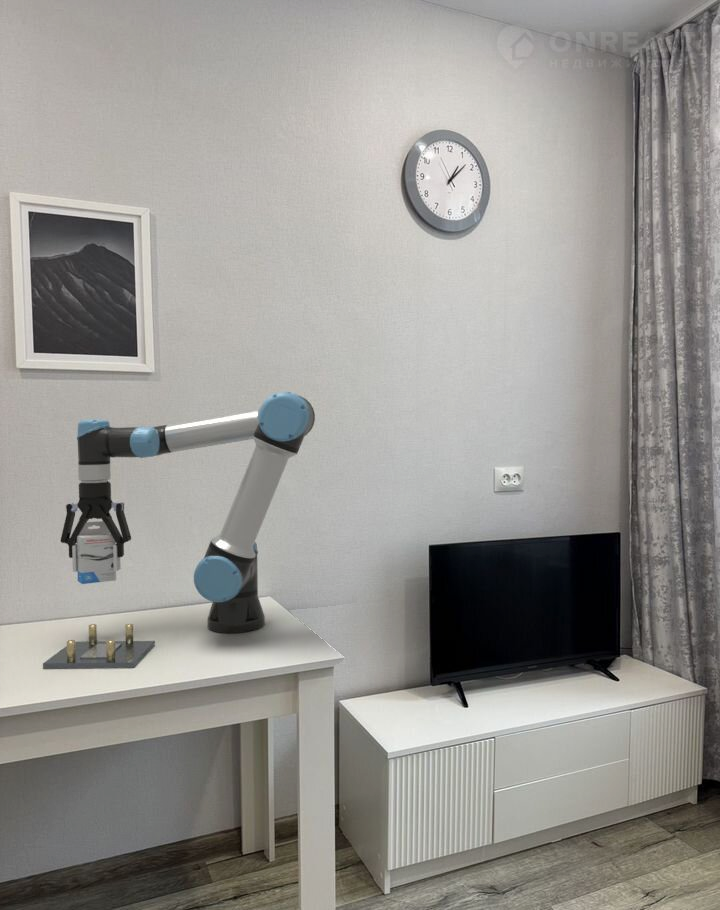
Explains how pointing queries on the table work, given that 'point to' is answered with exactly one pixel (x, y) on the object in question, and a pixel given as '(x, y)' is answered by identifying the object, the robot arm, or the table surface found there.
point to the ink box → (95, 554)
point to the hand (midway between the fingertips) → (96, 570)
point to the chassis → (100, 652)
